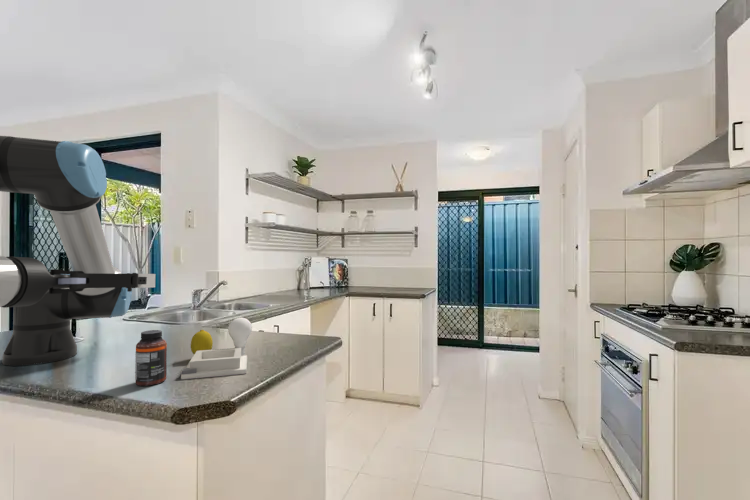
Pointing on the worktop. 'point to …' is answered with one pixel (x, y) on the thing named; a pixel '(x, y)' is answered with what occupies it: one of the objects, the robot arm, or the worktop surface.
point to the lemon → (201, 341)
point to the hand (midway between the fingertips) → (124, 281)
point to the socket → (215, 363)
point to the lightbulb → (240, 332)
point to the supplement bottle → (151, 359)
